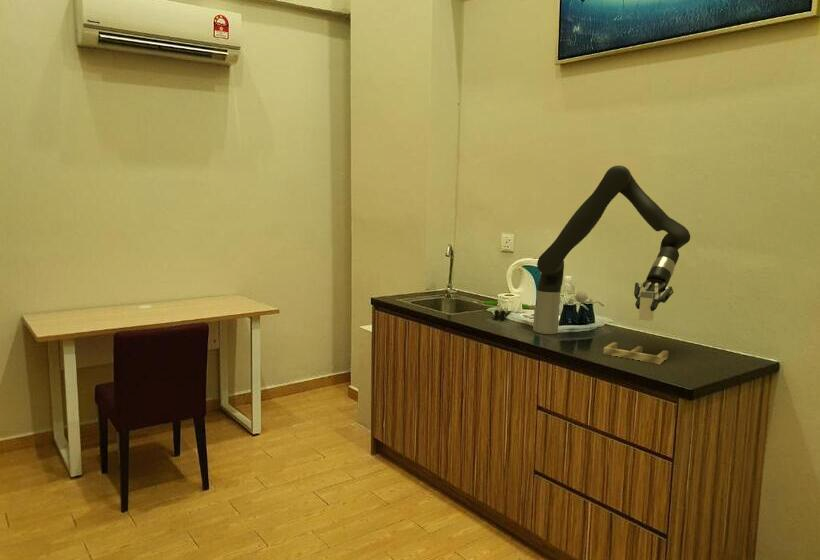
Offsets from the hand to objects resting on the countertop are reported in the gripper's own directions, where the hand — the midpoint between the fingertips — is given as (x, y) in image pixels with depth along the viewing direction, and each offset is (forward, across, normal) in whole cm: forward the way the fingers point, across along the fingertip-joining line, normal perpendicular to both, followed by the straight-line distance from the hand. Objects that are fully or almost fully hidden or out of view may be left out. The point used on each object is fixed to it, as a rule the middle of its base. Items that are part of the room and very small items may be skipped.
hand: (644, 308), depth 226 cm
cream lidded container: (+2, 0, +4) cm, 5 cm away
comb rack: (+12, -2, +13) cm, 18 cm away
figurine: (-5, -77, +29) cm, 83 cm away
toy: (-11, -43, +36) cm, 58 cm away
